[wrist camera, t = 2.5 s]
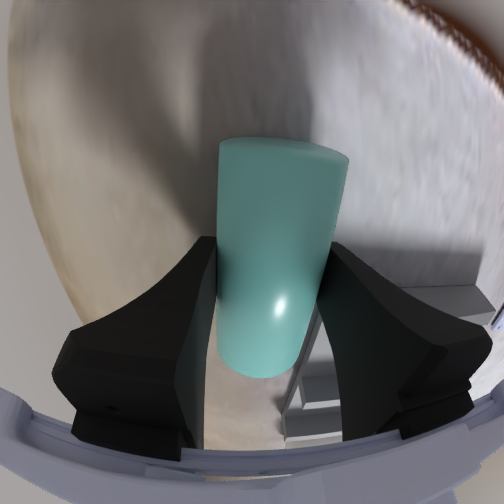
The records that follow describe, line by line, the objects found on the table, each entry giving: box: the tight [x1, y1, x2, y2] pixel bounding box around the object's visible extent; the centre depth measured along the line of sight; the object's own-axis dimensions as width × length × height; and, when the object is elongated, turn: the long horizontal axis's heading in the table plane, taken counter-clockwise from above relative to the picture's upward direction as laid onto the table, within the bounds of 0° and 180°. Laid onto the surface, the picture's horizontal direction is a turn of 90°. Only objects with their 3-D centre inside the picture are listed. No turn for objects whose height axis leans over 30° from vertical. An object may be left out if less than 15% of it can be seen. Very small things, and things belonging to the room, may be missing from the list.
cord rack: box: [281, 285, 496, 442], centre depth 17 cm, size 12×15×3 cm
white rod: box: [285, 435, 342, 449], centre depth 23 cm, size 9×4×4 cm, turn 86°
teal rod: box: [216, 137, 349, 378], centre depth 11 cm, size 9×4×4 cm, turn 176°
